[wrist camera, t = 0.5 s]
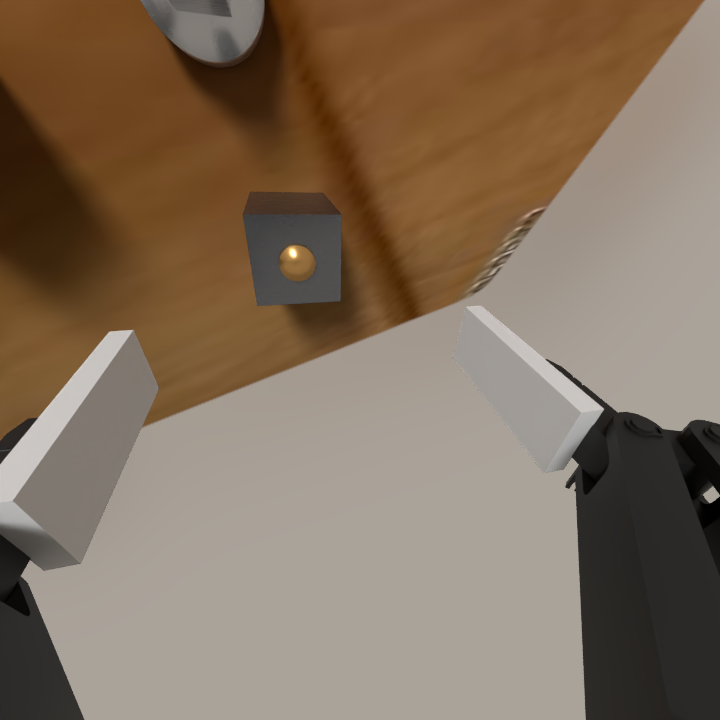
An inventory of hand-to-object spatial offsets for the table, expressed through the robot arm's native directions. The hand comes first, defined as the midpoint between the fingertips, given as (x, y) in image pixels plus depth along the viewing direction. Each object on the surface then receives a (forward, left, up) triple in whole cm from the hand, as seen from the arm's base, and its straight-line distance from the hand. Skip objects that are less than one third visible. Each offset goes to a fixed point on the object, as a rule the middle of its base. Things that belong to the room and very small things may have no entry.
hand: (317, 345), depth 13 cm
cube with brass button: (0, 0, -19) cm, 19 cm away
